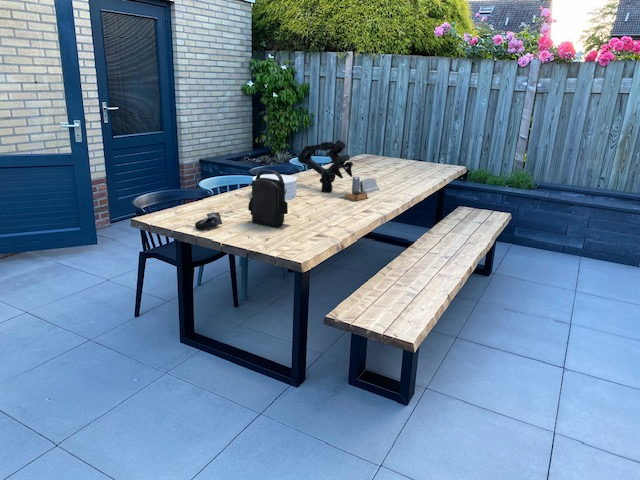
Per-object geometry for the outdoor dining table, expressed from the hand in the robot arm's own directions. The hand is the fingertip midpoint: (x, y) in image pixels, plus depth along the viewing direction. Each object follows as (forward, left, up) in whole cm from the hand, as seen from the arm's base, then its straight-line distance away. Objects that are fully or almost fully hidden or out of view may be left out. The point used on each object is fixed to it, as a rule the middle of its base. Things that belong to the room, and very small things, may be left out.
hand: (347, 177), depth 311 cm
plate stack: (-44, -15, -13) cm, 48 cm away
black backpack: (-28, -76, -13) cm, 82 cm away
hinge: (+12, +22, -13) cm, 28 cm away
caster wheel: (-54, -93, -13) cm, 108 cm away
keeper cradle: (+5, -3, -12) cm, 14 cm away
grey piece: (+6, -4, -12) cm, 14 cm away
